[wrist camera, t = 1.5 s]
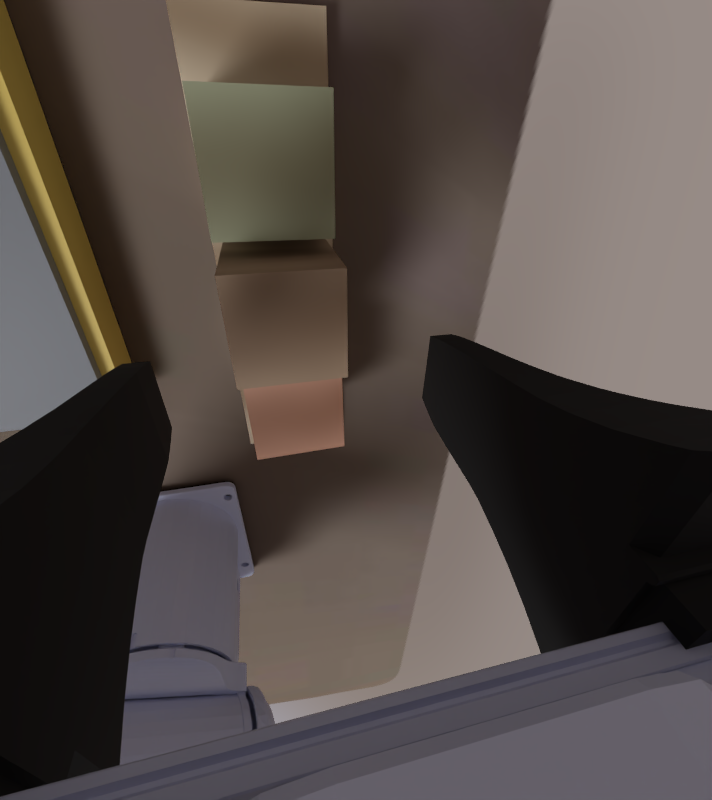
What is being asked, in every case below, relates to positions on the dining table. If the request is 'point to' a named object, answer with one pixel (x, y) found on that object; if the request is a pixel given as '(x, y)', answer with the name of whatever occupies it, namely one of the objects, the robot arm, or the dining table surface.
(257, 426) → the block
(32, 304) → the dock
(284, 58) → the board
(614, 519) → the robot arm
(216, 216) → the block
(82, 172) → the dining table surface
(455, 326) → the dining table surface
